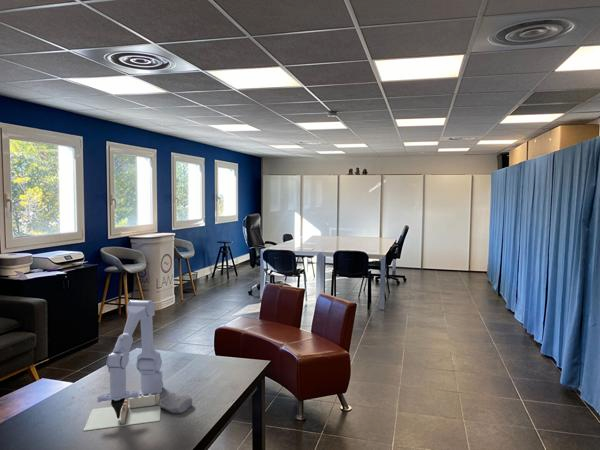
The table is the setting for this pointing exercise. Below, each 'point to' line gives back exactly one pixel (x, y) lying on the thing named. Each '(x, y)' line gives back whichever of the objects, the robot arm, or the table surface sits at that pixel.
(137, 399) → the fence fixed
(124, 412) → the fence panel
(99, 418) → the card
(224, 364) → the table surface
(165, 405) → the stone block
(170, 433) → the table surface
